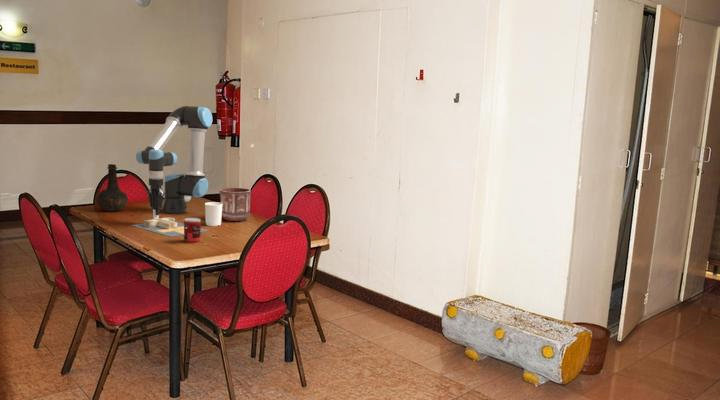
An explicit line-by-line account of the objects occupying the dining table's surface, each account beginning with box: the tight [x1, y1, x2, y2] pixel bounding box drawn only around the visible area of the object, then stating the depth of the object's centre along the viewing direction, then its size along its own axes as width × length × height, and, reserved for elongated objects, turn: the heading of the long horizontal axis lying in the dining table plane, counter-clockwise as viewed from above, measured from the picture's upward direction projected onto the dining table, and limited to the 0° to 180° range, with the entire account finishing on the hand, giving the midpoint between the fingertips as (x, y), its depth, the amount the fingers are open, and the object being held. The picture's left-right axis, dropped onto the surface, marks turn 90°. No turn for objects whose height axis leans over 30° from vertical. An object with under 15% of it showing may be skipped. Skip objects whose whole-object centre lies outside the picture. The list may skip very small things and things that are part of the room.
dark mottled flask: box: [96, 163, 129, 213], centre depth 367 cm, size 18×18×28 cm
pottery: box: [219, 187, 252, 223], centre depth 359 cm, size 18×18×18 cm
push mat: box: [130, 221, 210, 238], centre depth 329 cm, size 24×36×1 cm, turn 52°
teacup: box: [184, 196, 192, 204], centre depth 410 cm, size 14×11×8 cm
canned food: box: [183, 217, 202, 244], centre depth 303 cm, size 8×8×11 cm
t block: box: [143, 216, 178, 229], centre depth 332 cm, size 16×15×3 cm
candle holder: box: [204, 201, 223, 227], centre depth 343 cm, size 10×10×12 cm
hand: (155, 220), depth 337 cm, fingers closed
